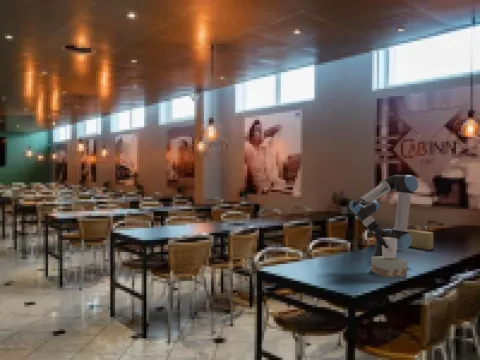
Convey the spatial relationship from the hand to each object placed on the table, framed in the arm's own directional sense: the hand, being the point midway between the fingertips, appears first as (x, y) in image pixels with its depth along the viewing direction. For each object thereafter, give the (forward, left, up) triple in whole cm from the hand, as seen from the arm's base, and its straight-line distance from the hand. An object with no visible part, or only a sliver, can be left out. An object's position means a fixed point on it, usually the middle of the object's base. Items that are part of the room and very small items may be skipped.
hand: (394, 250), depth 267 cm
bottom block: (+2, -3, -16) cm, 16 cm away
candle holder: (+2, -3, -5) cm, 6 cm away
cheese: (-84, -82, -16) cm, 118 cm away
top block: (+2, -3, -11) cm, 11 cm away
